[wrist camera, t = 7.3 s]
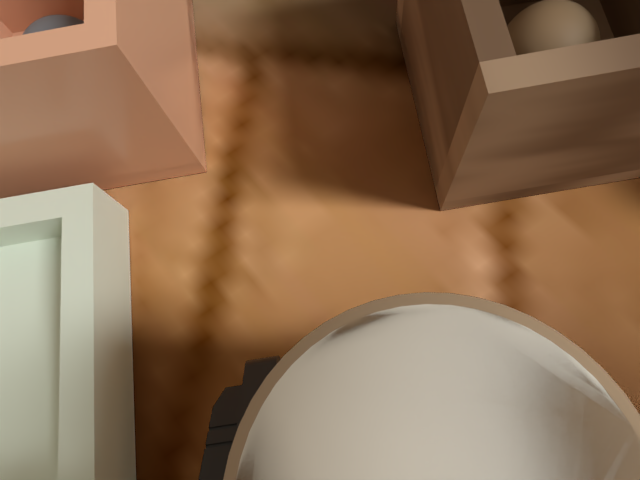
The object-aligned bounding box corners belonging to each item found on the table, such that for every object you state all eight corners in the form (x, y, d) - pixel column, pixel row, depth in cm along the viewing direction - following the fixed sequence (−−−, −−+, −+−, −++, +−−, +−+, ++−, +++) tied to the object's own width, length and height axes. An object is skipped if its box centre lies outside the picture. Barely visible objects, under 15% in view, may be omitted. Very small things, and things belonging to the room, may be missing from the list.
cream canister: (458, 342, 16) (600, 262, 6) (499, 522, 14) (771, 778, 5) (299, 367, 16) (203, 326, 6) (323, 547, 14) (241, 841, 5)
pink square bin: (192, 0, 21) (111, -187, 14) (206, 171, 18) (116, 44, 12) (8, 34, 21) (-157, -133, 14) (-2, 207, 19) (-206, 104, 12)
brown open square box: (600, -14, 19) (725, -230, 13) (676, 171, 17) (879, 25, 10) (395, 23, 20) (411, -169, 13) (440, 210, 17) (488, 93, 10)
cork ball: (562, 35, 18) (600, -33, 15) (588, 107, 17) (633, 49, 14) (479, 50, 18) (500, -15, 15) (500, 123, 17) (527, 68, 14)
